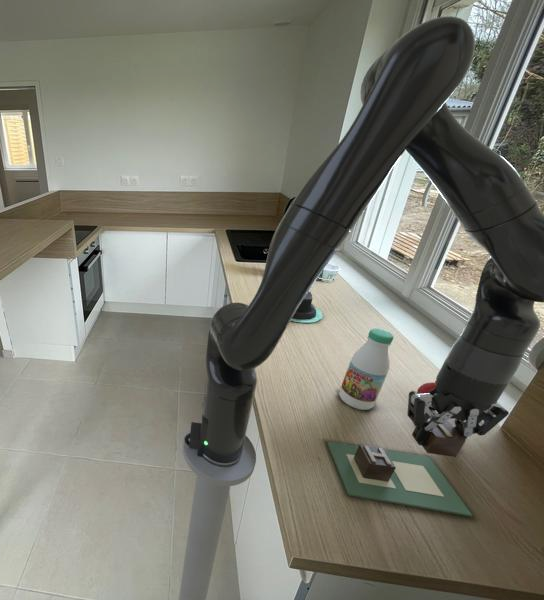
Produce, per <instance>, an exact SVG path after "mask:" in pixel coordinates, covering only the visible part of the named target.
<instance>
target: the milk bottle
mask: <svg viewBox="0 0 544 600" xmlns="http://www.w3.org/2000/svg"><path fill="white" fill-rule="evenodd" d="M393 340H394V334H393V333H391V332H390V331H388V330H385V329H381V328H371V329H370V330H369V332H368V335H367V340H366V342H365V343H364V344H363V345H362V346H361V347H360V348H358V349H357V350H356V351H355V352H354V353H353V355H352V357H351V359H350V362H349V363H348V367H347V369H346V372H345V375H344V378H343V380H342V383H341V385H340V388H339V392H338V394H339V398H340V400H342V401H343V402H344V403H345V404H346V405H348V406H350V407H351V408H354V409H356V410H362V411H367V410H371V409H373V407H374V406H375V404H376V402H377V399H378V397H379V395H380V392H381V390H382V387H384V383H385V380H386V378H387V376H388V373H389V370H390V363H391V362H390V356H389V347H390V346H391V345H392V342H393Z"/></svg>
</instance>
